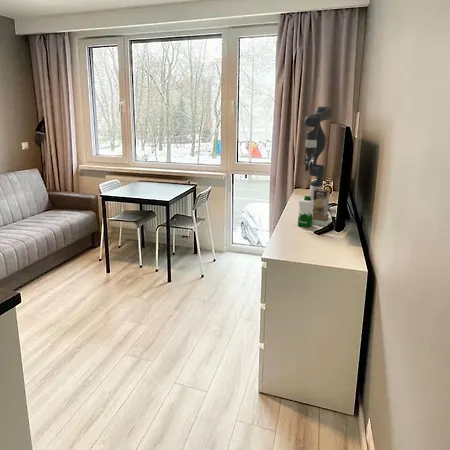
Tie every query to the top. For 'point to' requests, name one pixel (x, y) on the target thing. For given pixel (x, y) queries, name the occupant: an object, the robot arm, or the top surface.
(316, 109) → the robot arm
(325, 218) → the block
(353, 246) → the top surface
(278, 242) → the top surface
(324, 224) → the box
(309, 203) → the milk carton
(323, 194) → the coffee box
